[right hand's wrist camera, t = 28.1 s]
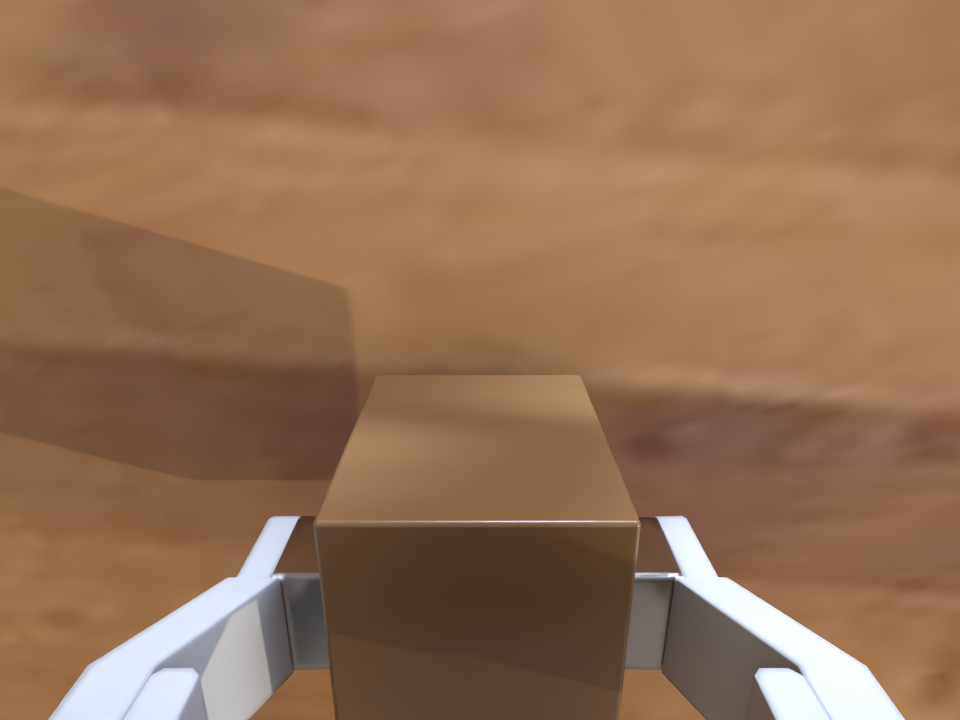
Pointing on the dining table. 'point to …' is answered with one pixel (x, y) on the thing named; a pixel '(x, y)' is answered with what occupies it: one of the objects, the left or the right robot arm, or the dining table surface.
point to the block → (477, 554)
